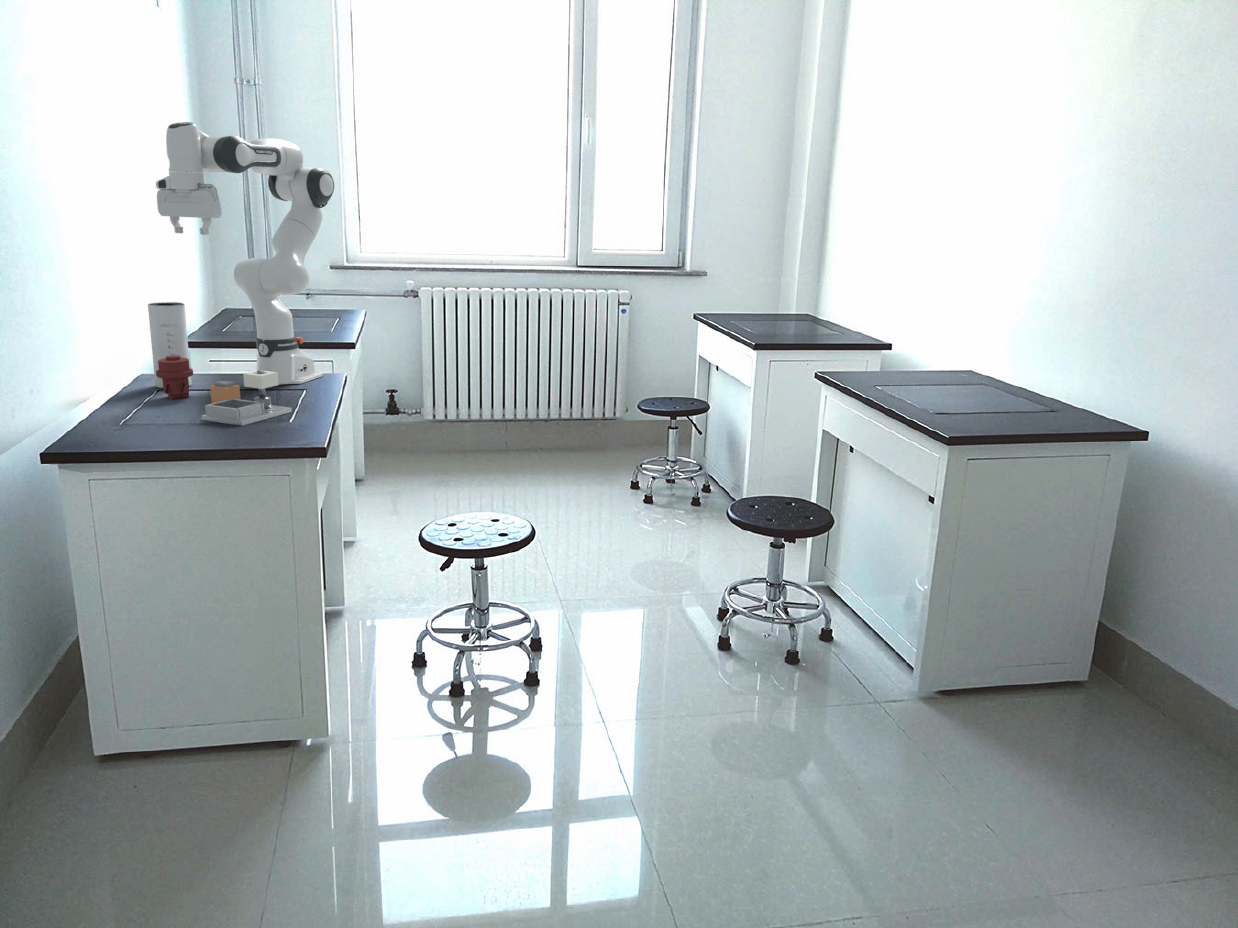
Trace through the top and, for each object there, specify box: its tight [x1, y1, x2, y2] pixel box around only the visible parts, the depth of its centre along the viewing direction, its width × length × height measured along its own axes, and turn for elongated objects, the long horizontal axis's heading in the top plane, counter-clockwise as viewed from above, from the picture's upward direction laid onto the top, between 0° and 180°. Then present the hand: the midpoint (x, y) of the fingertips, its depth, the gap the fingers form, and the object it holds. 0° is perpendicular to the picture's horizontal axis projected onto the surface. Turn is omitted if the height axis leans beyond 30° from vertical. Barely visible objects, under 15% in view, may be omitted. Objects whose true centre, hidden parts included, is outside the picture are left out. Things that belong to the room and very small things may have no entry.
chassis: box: [201, 370, 293, 427], centre depth 266 cm, size 19×14×12 cm
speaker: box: [147, 301, 192, 389], centre depth 300 cm, size 11×10×26 cm
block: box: [209, 380, 242, 404], centre depth 277 cm, size 5×6×7 cm
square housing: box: [242, 370, 280, 389], centre depth 270 cm, size 6×6×4 cm
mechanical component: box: [156, 355, 194, 400], centre depth 286 cm, size 12×10×10 cm
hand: (191, 233), depth 275 cm, fingers open, 8 cm apart
